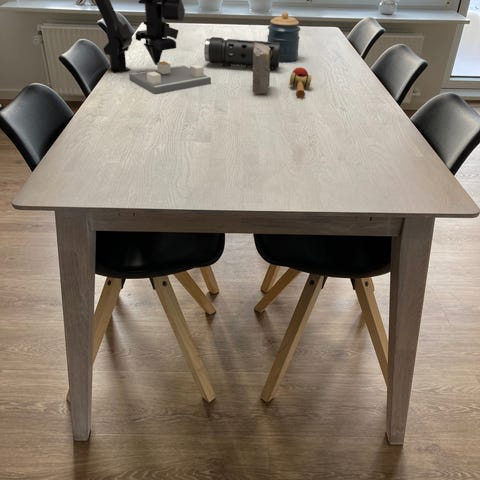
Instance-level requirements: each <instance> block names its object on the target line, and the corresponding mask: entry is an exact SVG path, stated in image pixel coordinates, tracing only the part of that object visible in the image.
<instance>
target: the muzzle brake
mask: <svg viewBox="0 0 480 480" xmlns="http://www.w3.org/2000/svg"><path fill="white" fill-rule="evenodd" d="M255 42H257V43H259V44H264V45H265V46H268V47H269V48H270V49H271V51H272V55H271V57H270V70H274V71H275V70H278V69H279V65H280V62H279V60H280V46H281V44H280V42H267V41H262V40H246V39H234V38H233V39H232V38H227V39H224V38H223V37H216V36H213V37H210V38H206V39H205V41H204V47H203V48H204V49H203V50H204V51H203V53H204V54H203V55H204V57H203V58H204V60H205V62H208V63H210V64H211V65H213V64H214V65H215V64H216V65H221V67H227V68H230V67H232V66H243V67H245V68H253V51H254V43H255Z"/></svg>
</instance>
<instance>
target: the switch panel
mask: <svg viewBox="0 0 480 480" xmlns="http://www.w3.org/2000/svg"><path fill="white" fill-rule="evenodd" d="M204 70H205V69H204V66H202V65H199V64H192V65H189V67H188V66H186V65H184V64H182V65H177V66H171V73H168V74H162V73H160V72H158V69H152V70H147V71H141V72H134V73H133V72H132V73H129V80H130V81H131V82H132V83H136V85H138V86H140V87H143V88H144V89H146V90H147V91H149V92H151V93H152V94H154V95H157V94H163V93H168V92H174V91H179V90H183V89H184V90H185V89H189V88H195V87H200V86H205V85H210V84H212V78H211V76H208V75H206V74H204V73H205V72H204Z"/></svg>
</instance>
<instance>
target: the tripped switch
mask: <svg viewBox="0 0 480 480" xmlns="http://www.w3.org/2000/svg"><path fill="white" fill-rule="evenodd" d="M156 66H157V69H156V70H158V72H160V73H162V74H168V73H171V67H172V66H171V63H168V62H166V61H160V62H159V63H157V65H156Z"/></svg>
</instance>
